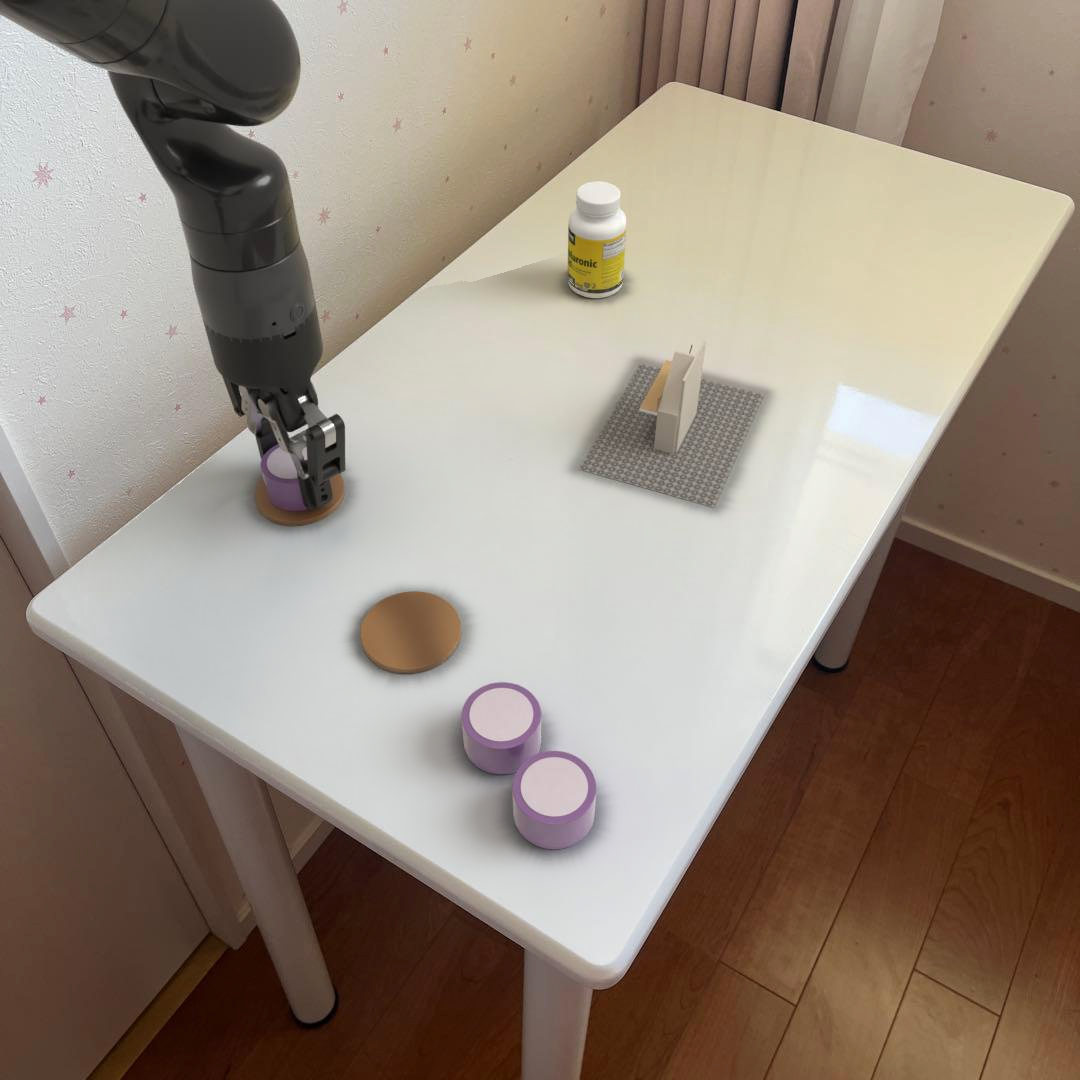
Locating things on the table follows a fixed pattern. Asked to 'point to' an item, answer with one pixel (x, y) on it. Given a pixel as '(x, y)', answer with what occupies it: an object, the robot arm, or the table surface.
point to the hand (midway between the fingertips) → (298, 484)
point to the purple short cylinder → (282, 479)
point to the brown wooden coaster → (410, 632)
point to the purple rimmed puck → (554, 799)
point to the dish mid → (501, 727)
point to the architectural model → (675, 431)
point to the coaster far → (298, 516)
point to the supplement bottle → (596, 241)
